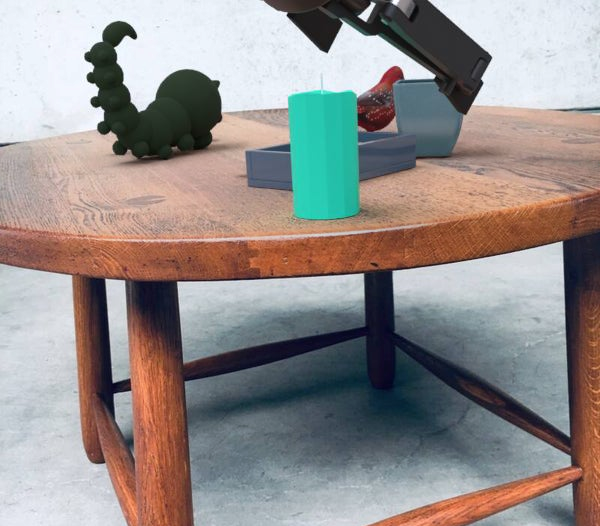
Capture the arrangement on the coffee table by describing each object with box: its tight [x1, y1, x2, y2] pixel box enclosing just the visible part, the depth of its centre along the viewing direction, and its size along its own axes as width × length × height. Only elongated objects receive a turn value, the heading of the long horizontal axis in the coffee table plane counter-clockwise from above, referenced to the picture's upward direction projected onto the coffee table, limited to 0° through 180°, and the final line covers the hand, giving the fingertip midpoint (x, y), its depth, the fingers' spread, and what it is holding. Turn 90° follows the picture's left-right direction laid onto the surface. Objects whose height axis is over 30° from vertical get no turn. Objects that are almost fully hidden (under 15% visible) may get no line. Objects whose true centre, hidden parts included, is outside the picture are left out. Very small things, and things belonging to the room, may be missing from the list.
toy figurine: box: [83, 20, 223, 160], centre depth 124 cm, size 9×19×25 cm
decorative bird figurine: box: [357, 65, 406, 132], centre depth 126 cm, size 3×18×10 cm, turn 139°
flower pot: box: [393, 78, 465, 158], centre depth 112 cm, size 9×9×9 cm
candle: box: [287, 72, 361, 220], centre depth 80 cm, size 6×6×12 cm
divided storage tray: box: [244, 130, 417, 191], centre depth 101 cm, size 10×18×4 cm, turn 139°
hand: (398, 66), depth 72 cm, fingers open, 13 cm apart
